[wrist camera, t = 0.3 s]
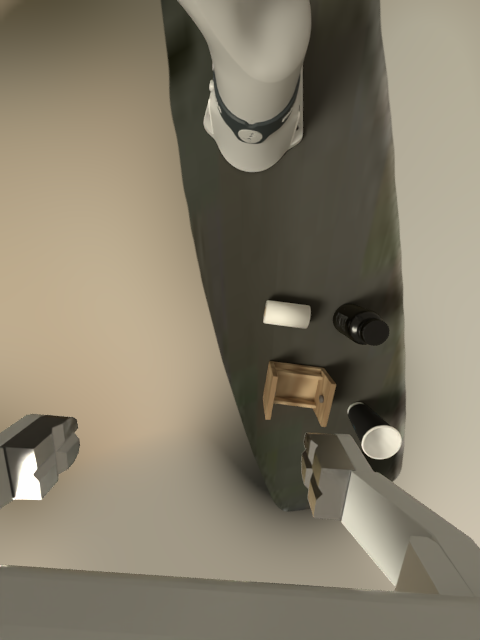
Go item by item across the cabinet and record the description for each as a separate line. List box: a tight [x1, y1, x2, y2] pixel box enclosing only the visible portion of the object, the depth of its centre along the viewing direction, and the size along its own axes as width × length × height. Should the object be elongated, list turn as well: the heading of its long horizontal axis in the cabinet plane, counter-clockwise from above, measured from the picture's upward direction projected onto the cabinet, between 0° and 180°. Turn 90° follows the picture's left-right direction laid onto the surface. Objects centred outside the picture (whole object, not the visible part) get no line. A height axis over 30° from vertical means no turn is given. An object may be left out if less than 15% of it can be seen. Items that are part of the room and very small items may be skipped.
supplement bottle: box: [333, 304, 389, 346], centre depth 49 cm, size 7×7×12 cm
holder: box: [263, 361, 336, 427], centre depth 54 cm, size 13×10×8 cm
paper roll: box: [263, 300, 311, 329], centre depth 52 cm, size 9×5×5 cm, turn 82°
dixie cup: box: [348, 402, 402, 459], centre depth 54 cm, size 8×8×11 cm
